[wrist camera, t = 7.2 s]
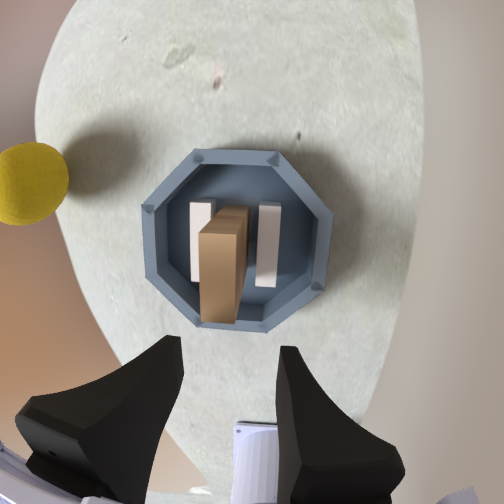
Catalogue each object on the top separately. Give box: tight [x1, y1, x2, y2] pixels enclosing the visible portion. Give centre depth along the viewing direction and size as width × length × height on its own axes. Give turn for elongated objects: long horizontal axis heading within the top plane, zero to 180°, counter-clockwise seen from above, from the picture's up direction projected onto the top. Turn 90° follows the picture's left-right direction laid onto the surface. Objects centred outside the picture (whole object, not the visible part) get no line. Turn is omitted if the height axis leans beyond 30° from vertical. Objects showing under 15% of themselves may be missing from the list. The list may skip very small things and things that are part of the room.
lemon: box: [0, 142, 69, 225], centre depth 15 cm, size 6×6×8 cm
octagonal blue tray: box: [141, 148, 334, 333], centre depth 18 cm, size 11×11×3 cm
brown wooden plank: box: [198, 205, 250, 324], centre depth 16 cm, size 4×2×7 cm, turn 178°
